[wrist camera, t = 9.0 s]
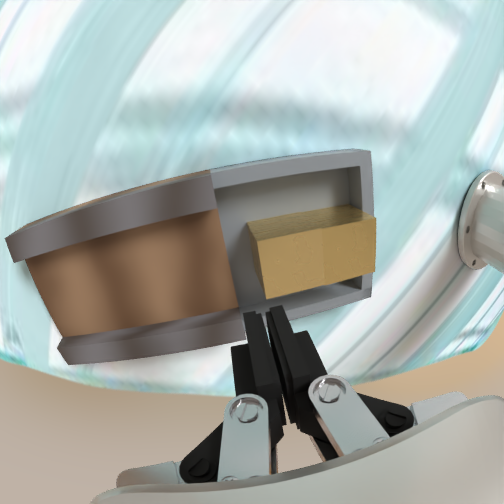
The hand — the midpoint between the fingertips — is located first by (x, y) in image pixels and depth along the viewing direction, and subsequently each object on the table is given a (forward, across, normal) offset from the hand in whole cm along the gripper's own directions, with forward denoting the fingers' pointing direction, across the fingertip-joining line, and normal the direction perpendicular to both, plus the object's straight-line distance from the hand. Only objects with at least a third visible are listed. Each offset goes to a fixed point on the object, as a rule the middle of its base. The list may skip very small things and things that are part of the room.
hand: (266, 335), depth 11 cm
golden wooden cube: (+10, -3, 0) cm, 10 cm away
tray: (+11, -4, 0) cm, 11 cm away
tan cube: (+10, -7, 0) cm, 12 cm away
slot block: (+10, +9, 0) cm, 14 cm away
